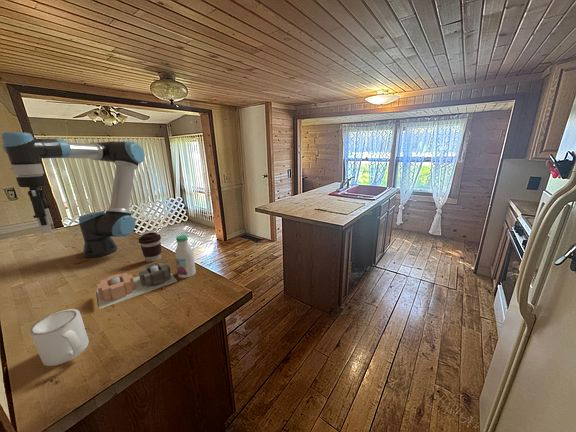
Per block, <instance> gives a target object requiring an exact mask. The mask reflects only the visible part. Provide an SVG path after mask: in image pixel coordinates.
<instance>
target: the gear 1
mask: <svg viewBox="0 0 576 432" xmlns="http://www.w3.org/2000/svg"><path fill="white" fill-rule="evenodd" d="M114 277H119V278H120V283H117V284H114V285H111V281H110V280H111V279H112V278H114ZM133 278H134V277H133V273H132V274H131V273H129V274H128V272H124V273H121V274H120V273H117V274H114V275H110V276H107V278H105V279H104V278H103V279H102V280H101V279H100V282H99V283H96V286H97V288H96V289H98V292H99V295H100V299H101V300H102V299H105V302H106V301H109V300H112V299H114V300H117V299H120V298H122V297H125V296H126V295H127V294H129V293H132V292H133V290H132V289H135V284H134V280H133ZM109 289H110V290H109ZM126 292H127V293H126ZM110 293H111V294H110ZM111 297H112V298H111Z"/></svg>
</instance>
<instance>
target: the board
mask: <svg viewBox="0 0 576 432" xmlns="http://www.w3.org/2000/svg"><path fill="white" fill-rule="evenodd" d="M150 270H151V273H152V272H156V271H159V270H158V266H152V267H150ZM133 280H134V284H135V289H132V290H133V292H132V293H129V294H127V295H126V296H125V297H122V298H120V299H117V300H114V299H112V300H109V301H106V302H105V299H102V300H101V299H100V295H99V292H98V288H96V296H97V303H98V309H99V310H101V309H103V308H107V307H109V306H112V305H114V304H117V303H121V302H124V301H126V300H128V299H132V298H134V297H137V296H140V295H143V294H146V293H148V292H152V291H153V290H157V289H160V288H162V287H166V286H169V285H170V284H174V283H177V282H178V280H177V279H176V278H175V276H174V275H173V274H172V273H171V277H170V280H168V281H165V283H163V284H160V285H157V286H154V285H152V286H150V287H147V286H146V285H144V286H142V284H141V282H140V277H139V275H138V276H135V277H133ZM110 281H111V285H114V284H117V283H120V278H119V277H114V278H112V279H111V280H110ZM109 290H110V289H109ZM126 293H127V292H126ZM110 294H111V293H110ZM111 298H112V297H111Z"/></svg>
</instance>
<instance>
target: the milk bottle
mask: <svg viewBox="0 0 576 432" xmlns="http://www.w3.org/2000/svg"><path fill="white" fill-rule="evenodd" d="M175 239H176V240H175V241H176V244H177V246H176V249H175V251H174V256H175V257H174V258H175V265H176V270H177V272H176V273H177V276H178V277H179V278H181V279H184V278H185V279H186V278H191V277H192V276H194V275H195V274H196V272H197V270H196V264H195V263H196V262H195V254H194V252H193V249H192V247H191V246H190V244H189V242H188V241H189V240H188V239H189V238H188V235H187V234H181V235H177V236H176V238H175Z"/></svg>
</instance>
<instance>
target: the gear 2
mask: <svg viewBox="0 0 576 432" xmlns="http://www.w3.org/2000/svg"><path fill="white" fill-rule="evenodd" d="M152 266H158V270H159V271H156V272H152V273H151V270H150V267H152ZM171 274H172V272H171V267H170V265H169V263H164V261H162V262H159V263H157V262H156V263H155V262H154V263H151V264H148V265H146V267H142V268H140V271H138V276H139V277H140V282H141V284H142V286H144V285H146V286H147V287H150V286H152V285H154V286H157V285H160V284H163V283H165V281H168V280H170V277H171Z"/></svg>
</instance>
